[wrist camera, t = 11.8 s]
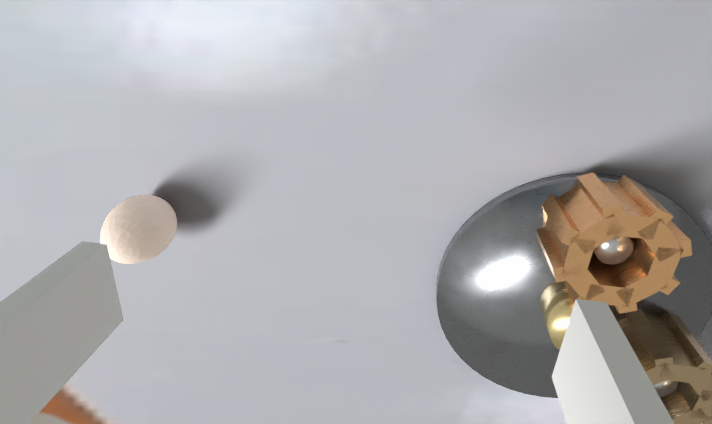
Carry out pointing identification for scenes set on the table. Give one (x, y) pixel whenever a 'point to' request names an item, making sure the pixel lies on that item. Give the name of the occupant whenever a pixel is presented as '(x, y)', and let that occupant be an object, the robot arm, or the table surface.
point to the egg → (138, 229)
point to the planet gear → (598, 225)
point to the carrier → (568, 302)
